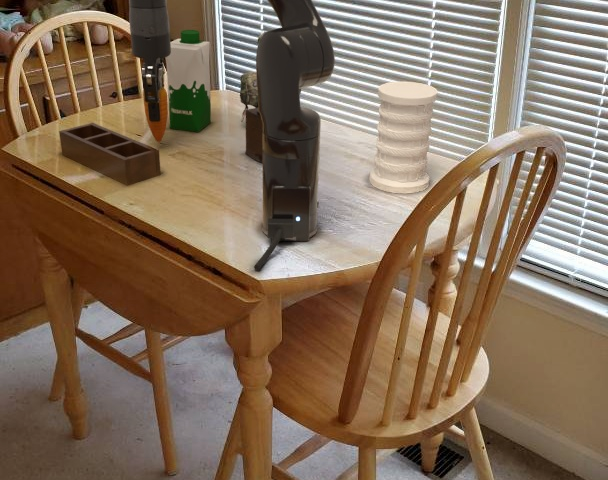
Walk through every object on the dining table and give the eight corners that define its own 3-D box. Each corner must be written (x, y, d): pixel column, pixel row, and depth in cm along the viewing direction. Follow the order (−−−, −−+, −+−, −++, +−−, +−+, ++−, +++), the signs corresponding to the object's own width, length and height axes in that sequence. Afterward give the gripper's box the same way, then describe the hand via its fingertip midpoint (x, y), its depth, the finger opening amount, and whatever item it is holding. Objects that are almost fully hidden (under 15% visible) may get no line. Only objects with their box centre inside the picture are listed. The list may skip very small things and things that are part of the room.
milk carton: (216, 122, 185) (213, 31, 174) (200, 134, 178) (196, 40, 167) (180, 117, 187) (175, 27, 176) (163, 129, 180) (157, 36, 169)
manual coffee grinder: (241, 154, 168) (240, 66, 158) (283, 144, 174) (285, 59, 164) (286, 177, 158) (288, 85, 148) (330, 166, 164) (334, 76, 154)
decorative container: (438, 179, 159) (449, 87, 150) (414, 198, 151) (424, 102, 141) (385, 166, 164) (392, 77, 155) (359, 184, 156) (365, 91, 146)
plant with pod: (231, 123, 185) (229, 32, 174) (275, 117, 189) (276, 28, 179) (246, 134, 179) (245, 40, 168) (291, 127, 183) (293, 36, 173)
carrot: (173, 139, 169) (168, 66, 162) (167, 146, 165) (162, 72, 157) (150, 137, 170) (144, 65, 162) (143, 145, 166) (137, 71, 158)
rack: (127, 185, 152) (124, 160, 150) (62, 154, 165) (58, 131, 162) (160, 174, 157) (159, 150, 155) (95, 145, 170) (92, 122, 167)
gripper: (135, 22, 162) (142, 106, 171) (124, 38, 149) (133, 128, 158) (173, 22, 162) (178, 106, 171) (165, 38, 150) (171, 128, 159)
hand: (156, 116), depth 165 cm, fingers closed on carrot, 5 cm apart
